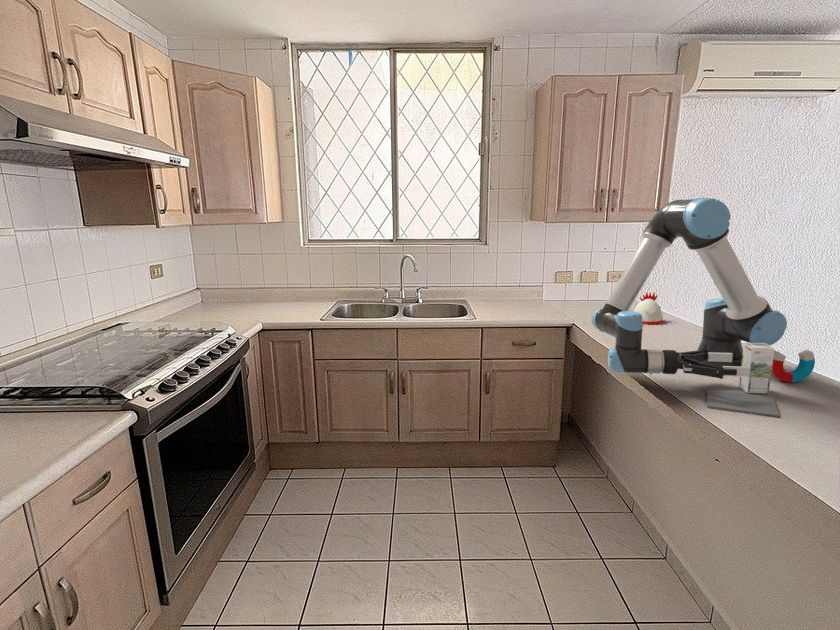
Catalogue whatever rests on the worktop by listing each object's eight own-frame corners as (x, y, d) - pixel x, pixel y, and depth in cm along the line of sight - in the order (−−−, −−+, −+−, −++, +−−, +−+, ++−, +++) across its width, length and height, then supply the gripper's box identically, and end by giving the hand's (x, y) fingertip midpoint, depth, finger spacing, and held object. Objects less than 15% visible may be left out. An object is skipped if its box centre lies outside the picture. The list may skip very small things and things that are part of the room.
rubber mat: (707, 390, 140) (707, 388, 139) (772, 398, 131) (772, 396, 131) (707, 407, 128) (707, 405, 128) (779, 417, 120) (779, 415, 119)
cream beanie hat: (666, 324, 220) (668, 294, 217) (636, 325, 223) (637, 294, 220) (657, 318, 234) (658, 289, 230) (628, 318, 236) (629, 290, 233)
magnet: (806, 379, 144) (810, 349, 142) (812, 382, 141) (816, 351, 139) (766, 380, 145) (769, 350, 143) (772, 383, 142) (775, 352, 140)
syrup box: (759, 387, 140) (764, 342, 137) (769, 394, 134) (774, 347, 131) (738, 387, 141) (743, 341, 138) (747, 394, 135) (752, 347, 132)
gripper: (653, 361, 155) (724, 363, 149) (669, 387, 132) (755, 391, 126) (654, 339, 154) (726, 341, 147) (671, 362, 130) (758, 365, 124)
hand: (740, 364), depth 137 cm, fingers open, 13 cm apart
